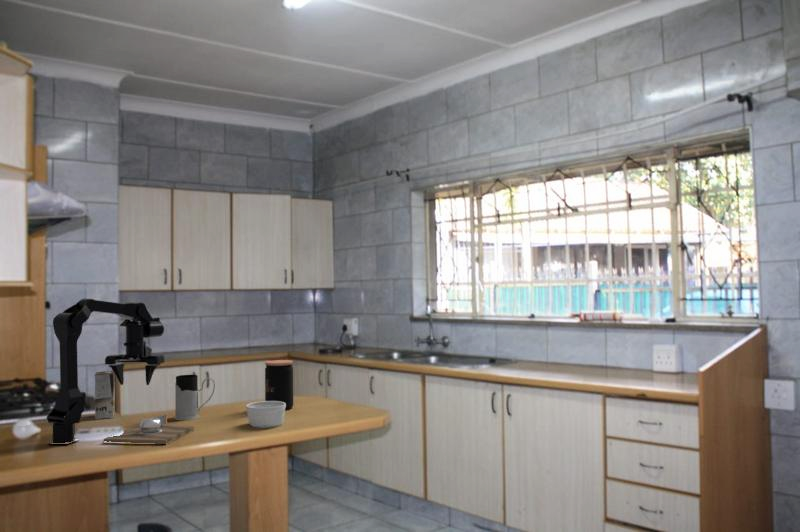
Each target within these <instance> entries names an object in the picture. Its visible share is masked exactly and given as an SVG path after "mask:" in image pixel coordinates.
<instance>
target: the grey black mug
mask: <svg viewBox="0 0 800 532" xmlns="http://www.w3.org/2000/svg"><path fill="white" fill-rule="evenodd" d="M198 380H199V379H198V375H197V374H181V375H177V376H175V388H174V389H175V391H174V392H175V393H174V394H175V396H174V397H175V398H174V399H175V414H174V415H175V416H174V418H173V419H174V420H175V419H176V420H175V421H192V420H191V419H193V420H197V419H196V418H198V419H200V415H199V413H200V409H201V408H202V407H204V406H205V405H206V404H207V403H208V402H209V401H210V400H211V399H212V397H213V395H214V393H215V387H216V385H215V384H216V383H215V381H214V379H213V378H210V377H208V378H205V379H204V380H203V381H202V384H201V389H198V387H199V386H198V383H199V382H198ZM207 380H211V381H212V382H213V389H212V392H211V394H210V396H209V398H208V399H207V400H205V402H204V403H202V404H201V405H200V407H199V392H201V391H203V389H204V383H205V382H206V381H207Z"/></svg>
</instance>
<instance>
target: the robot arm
mask: <svg viewBox="0 0 800 532" xmlns="http://www.w3.org/2000/svg"><path fill="white" fill-rule="evenodd" d="M93 312H94V313H104V314H112V315H117V316H118V317H121V318H124V320H123V321H122V322H121V323H120V324H119V326H120V327H125V342H124V343H123V346H125V354H110V355H106V357H105V359H104V365H108V367H109V368H111V371H114V374H115V377H116V378H117V380H118V383H119V384H120V386H122V385H124V383H125V382H124V381H125V380H124V377H125V376H124V368H125V363H146V365H145V366H144V368H145V383H146V386H149V385H150V383H151V381H152V378H153V375H154V373H155V371H156V369H157V367H159V366H161V364H163V363H165V355H163V354H152V351H153V349H152V348H151V347H149V346H148V345H147V343H146V341H144V340H145V339H147V338H148V339H149V338H159V337H161V336H163V334H164V331H165V327H164V324H163V322H162V321H161V320H160V317H152V315H151V314H150V312H149V311H148V309H147V306H146V304H145V303H144V302H130V301H129V302H113V301H105V300H97V299H93V298H81V299H80V300H79V301H77V302H76V303H74V304H73V305H72V306H69V307H68V308H66V309H65V310H63V311H62V312H59V313H58V314H56V315H55V316H54V317H53V320H52V325H53V331H54V332H53V333H54V335H55V336H56V339H57V340H58V342H59V373H60V374H59V375H60V376H59V377H60V379H59V380H60V381H59V383H60V384H59V386H60V387H59V389H58V393H57V394H56V396H55V402H54V407H53V408H52V409H51V411H50V412H49V413H48V414H47V416H46V420H47V422H48V423H49V424H52V441H53V443H65V442H71V441H73V439H74V435H75V436H76V424H78V423H80V421H81V418H82V414H83V413H84V411H85V408H86V407H85V406H87V402H86V396H87V393H86V392H85V391H80V388H79V381H78V379H79V378H78V377H79V376H78V374H79V373H78V368H79V367H78V340H79V339H80V337H81V335H82V332H83V327H84V326H83V325H84V323H86V321H88V320H89V318H90V316H91V314H92V313H93Z"/></svg>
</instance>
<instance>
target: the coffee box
mask: <svg viewBox="0 0 800 532" xmlns="http://www.w3.org/2000/svg"><path fill="white" fill-rule="evenodd" d="M115 377H116V374H115V373H114V371H113V370H108V371H106V370H103V371H96V372H95V374H94V419H95V420H103V419H114V416H115V409H116V407H115V404H116V403H115V401H116V399H115V398H116V397H115V396H116V395H115V391H116V389H115V387H116V386H115V382H116V381H115V380H116V379H115Z"/></svg>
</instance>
